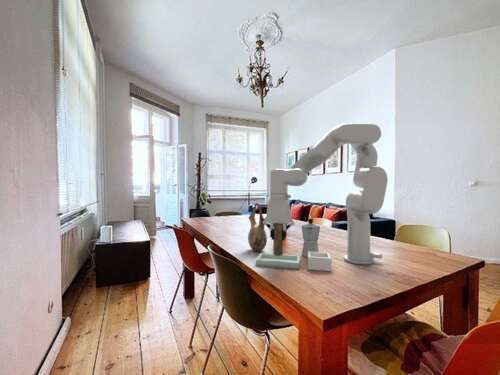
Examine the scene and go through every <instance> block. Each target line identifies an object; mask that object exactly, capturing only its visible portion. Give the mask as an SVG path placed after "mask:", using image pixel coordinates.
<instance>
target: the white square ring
mask: <svg viewBox="0 0 500 375" xmlns="http://www.w3.org/2000/svg"><path fill="white" fill-rule="evenodd" d="M307 270H311V271H312V270H313V271H326V272H332V256H331V255H330V252H325V251H323V252H322V251H319V252H311V251H308V258H307Z"/></svg>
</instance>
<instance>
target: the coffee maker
mask: <svg viewBox="0 0 500 375" xmlns="http://www.w3.org/2000/svg"><path fill="white" fill-rule="evenodd" d="M307 220H308V223H305V224H302V225H301V232H302V239H303V245H302V252H301V257H303V258H305V259H308V251H311V252H320V251H319V245H318V240H319V237H320V230H321V226H320V225H317V224H315V223H313V222H314V218H308V219H307Z"/></svg>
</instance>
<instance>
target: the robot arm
mask: <svg viewBox="0 0 500 375" xmlns="http://www.w3.org/2000/svg"><path fill="white" fill-rule="evenodd" d="M381 137H382V130H381V128H380V127H379V125H377V124H375V123H370V122H366V123H365V122H363V123H362V122H361V123H354V122H353V123H351V122H349V123H341V124H340V125H339V124H338V125H337V126H335V127H333V128H332V129H330V130H329V131H328V132H327V133H325V135H323V136H322V137H321V139H319V140H318V141H317V142H316V144H315V145H314V146H312V147H311V148H310V149H309V150H308V151H307V152H306V153H305V154H304V155H303V156H301V157H300V158H299V159H298V160H297V161H296V162H295V163H294V164H293V165H292V166H291V167H289V169H286V168H285V169H284V168H274V169H271V170H270V173H269V176H270V178H269V182H270V183H269V184H270V185H269V200H268V201H267V209H266V216H265V218H264V221H263V222H262V223H263V224H264V225H265V227H267V228H268V229H269V231H270V232H269V233H270V235H269V237H270V238H271V241H273V239H274V224H275V223H280V224H283V231H282V240H283V241H285V239H287V230H289V229H290V228H291V227H293V226H295V221H294V220H293V218H292V217H291V205H290V200H288V199H291V198H292V196H291V194H288V186H290V187H300V186H303V185H305V184H306V183H307V181H308V173H310V172H312V171H313V170H314V169H316V168H318V167H320V166H321V165H323V164H325V163H326V162H327V161H328V160H329V159H330V158H331V156H333V155H334V154H335V153H336V152H337V151H338V150H339V149H340V148H341V147H342V146H344V145H347V144H350V146H351V147H352V148H353V150H355V153H356V162H355V167H354V171H353V176H352V178H353V179H352V182H353V185H355V187H357V188H359V189H362V190H354V191H351V192H350V193H348V194H347V195H346V198H345V208H346V217H347V231H346V232H347V235H346V236H347V240H346V241H347V246H346V247H347V249H346V250H347V251H346V253H347V254H344V256H343V260H344V261H345V262H348V263H351V264H355V265H372V264H374V263H375V260H374V259H383V254H382V253H377V252H372V250H371V217H370V215H374V214H377V213H378V212H380V211H381V210H382V207H383V205H384V201H385V198H386V196H385V195H386V191H387V186H388V181H389V180H388V179H389V178H388V174H387V172H386V170H385V169H384V168H382V167H381V166H378V158H379V157H378V152H377V149H376V147H375V146H374V144H375V143H377V142H379V141H380V139H381Z"/></svg>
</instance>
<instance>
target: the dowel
mask: <svg viewBox="0 0 500 375" xmlns="http://www.w3.org/2000/svg"><path fill="white" fill-rule="evenodd" d="M273 228H274V239H273V240H272V241H273V242H272V243H273V245H272V246H273V247H272V248H273V250H272V252H273V253H272V254H273V255H275V256H282V255H283V251H284V249H283V246H284V240H282V231H283V224H280V223H275V224H274V226H273Z"/></svg>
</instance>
